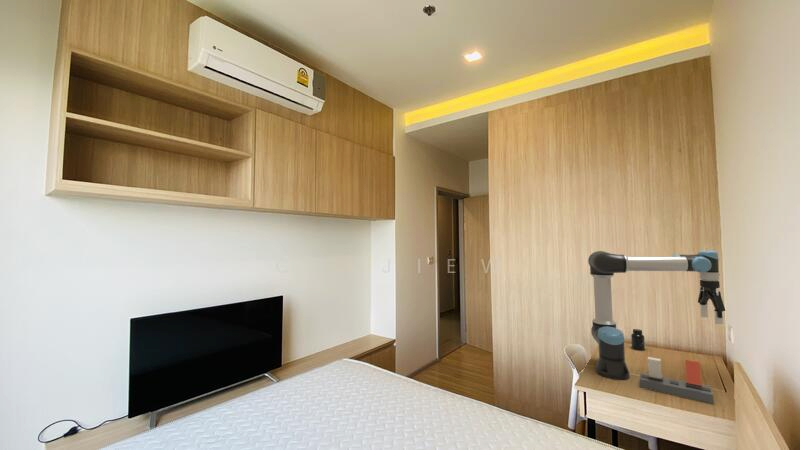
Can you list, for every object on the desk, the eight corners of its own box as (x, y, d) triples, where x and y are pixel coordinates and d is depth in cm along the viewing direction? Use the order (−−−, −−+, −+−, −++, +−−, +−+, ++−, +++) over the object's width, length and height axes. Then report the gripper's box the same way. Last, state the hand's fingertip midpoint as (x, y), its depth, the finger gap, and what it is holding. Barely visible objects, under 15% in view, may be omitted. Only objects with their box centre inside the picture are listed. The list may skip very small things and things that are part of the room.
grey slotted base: (639, 387, 159) (639, 378, 159) (641, 380, 165) (640, 371, 166) (713, 404, 142) (713, 393, 142) (711, 395, 149) (711, 385, 149)
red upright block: (686, 384, 150) (685, 360, 153) (686, 383, 152) (685, 360, 154) (701, 387, 147) (699, 362, 150) (701, 386, 148) (699, 362, 151)
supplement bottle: (645, 351, 203) (644, 332, 204) (632, 349, 207) (631, 330, 207) (644, 347, 209) (643, 329, 210) (631, 346, 213) (630, 327, 213)
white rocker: (648, 377, 159) (647, 358, 157) (648, 375, 160) (647, 356, 158) (661, 379, 156) (660, 361, 154) (661, 377, 157) (660, 359, 155)
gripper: (733, 283, 158) (735, 327, 158) (705, 276, 182) (707, 314, 181) (713, 283, 161) (716, 326, 160) (688, 276, 184) (690, 314, 184)
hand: (711, 320), depth 171 cm, fingers open, 13 cm apart
